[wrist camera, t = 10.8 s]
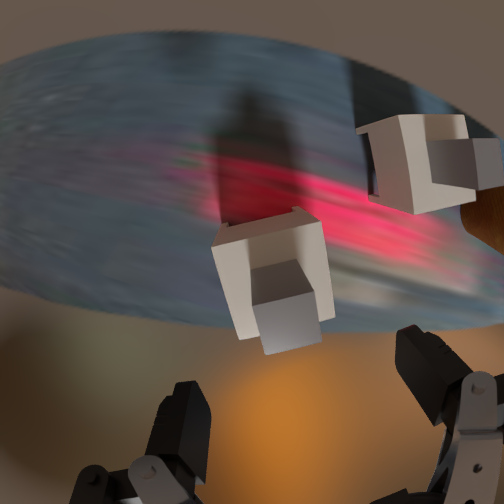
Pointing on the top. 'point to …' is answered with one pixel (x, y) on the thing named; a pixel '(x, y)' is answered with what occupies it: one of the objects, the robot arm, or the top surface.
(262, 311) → the cover
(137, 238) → the top surface
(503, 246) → the disposable coffee cup
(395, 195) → the cover
